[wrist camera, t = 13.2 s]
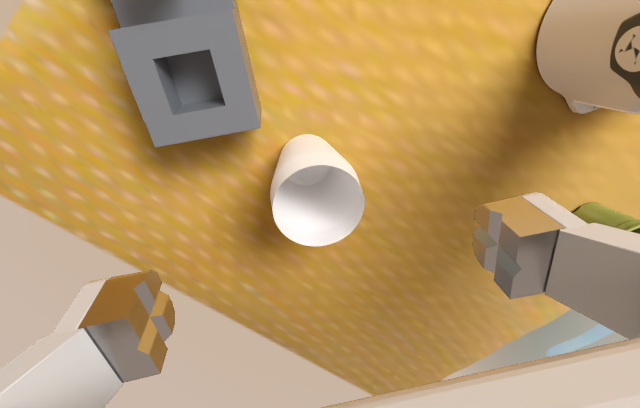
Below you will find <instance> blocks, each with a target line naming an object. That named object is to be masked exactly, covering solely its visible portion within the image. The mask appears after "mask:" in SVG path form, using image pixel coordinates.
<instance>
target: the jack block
mask: <svg viewBox="0 0 640 408" xmlns="http://www.w3.org/2000/svg"><path fill="white" fill-rule="evenodd" d="M110 1H111V3H112V6H113V9H114V11H115V14H116V16H117V19H118V22H119V24H120V27H121V28H118V29H112V30H108V32H109V35H110V37H111V40H112V42H113V45H114V47H115V50H116V52H117V55H118V57H119V60H120V63H121V66H122V68H123V71H124V73H125V76H126V78H127V81H128V83H129V86H130V88H131V91H132V93H133V96H134V98H135V100H136V103H137V105H138V108H139V110H140V113H141V115H142V118H143V120H144V122H145V124H146V126H147V129H148V131H149V134H150V136H151V139H152V141H153V144H154V146H155V147H161V146H166V145H172V144H177V143H182V142H188V141H193V140H199V139H204V138H209V137H215V136H220V135H226V134H231V133H236V132H242V131H247V130H253V129H258V128H260V126H261V106H260V102H259V97H258V93H257V89H256V84H255V80H254V76H253V71H252V67H251V63H250V58H249V54H248V50H247V45H246V41H245V37H244V32H243V28H242V24H241V20H240V15H239V11H238V7H237V2H236V0H110Z"/></svg>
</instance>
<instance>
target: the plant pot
mask: <svg viewBox="0 0 640 408" xmlns="http://www.w3.org/2000/svg"><path fill="white" fill-rule="evenodd" d="M572 214H574V215H575V216H577V217H578V218H580V219H582V220H583V221H585V222H586V223H588V224H591V223H598V224H602V225H606V226H610V227H614V228H618V229H622V230H626V231H630V232H634V233H638V234H640V220H638V219H635V218H632V217H630V216H627V215H625V214H622V213H620V212H617V211H615V210H612V209H610V208H608V207H605V206H603V205H600V204H598V203H588V204H584V205H582V206H580V208H579V209H578V210H577V211H575V212H573V213H572Z"/></svg>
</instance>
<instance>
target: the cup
mask: <svg viewBox="0 0 640 408" xmlns="http://www.w3.org/2000/svg"><path fill="white" fill-rule="evenodd" d="M270 200H271V205H272V211H273V217H274V220H275V223H276V225H277V227H278V228H279V230H280V231H281V232H282V233H283V234H284V235H285V236H286V237H287V238H289V239H290V240H292V241H294V242H296V243H299V244H302V245H306V246H324V245H329V244H332V243H335V242H337V241H339V240H341V239H343V238H345V237H346V236H347V235H349V234H350V233H351V232H352V231H353V230H354V229H355V228H356V226H357V225H358V223H359V222H360V220H361V218H362V215H363V212H364V206H365V199H364V194H363V191H362V188H361V186H360V183H359V180H358V177H357V175H356V173H355V171H354V169H353V168H352V167H351V165H350V164H349V163H348V162H347V161H346V160H345V159H344V158H343V157H342V156H341V155H340V154H339V153H338V152H337V151H335V150H334V149H333V148H332V147H331V146H330V145H329V144H328V143H327V142H326V141H325V140H324V139H322V138H320V137H318V136H315V135H310V134H305V135H300V136H297V137H295V138H293V139H291V140H290V141H289V142H287V143H286V145H285V146H284V147H283V149H282V151H281V154H280V157H279V160H278V164H277V167H276V170H275V173H274V177H273V180H272V183H271V189H270Z"/></svg>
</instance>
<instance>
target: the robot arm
mask: <svg viewBox="0 0 640 408" xmlns="http://www.w3.org/2000/svg"><path fill="white" fill-rule="evenodd" d="M536 57H537V65H538V69H539V72H540V74H541V77H542V78H543V80H544V81H545V83H546V84H547V85H548V86H549V87H550V88H551V89H553V90H554V91H556V92H557V93H559V94H561V95H562V96H563V97H564V98H565V99H566V102H567V104H568V106H569V108H570V109H571V110H572V111H573V112H574V113H579V114H585V113H588V112H591V111H593V110H596V109H598V108H605V109H610V110H615V111H620V112H624V113H629V114H639V113H640V0H553V1H552V3H551V5H550V7H549V8H548V10H547V12H546V15H545V17H544V19H543V22H542V25H541V28H540V31H539V35H538V40H537V50H536ZM474 220H475V221H476V222H477V223H478V224H479V226H478V228H477V229H476V230H475V231H474V233H473V242H472V245H473V249H474V253H475V256H476V258H477V260H478V261H479V263H480V264H481V265H482V267H483V268H484V269H487V270H489V271H491V272H494V273H495V275H494V281H495V282H496V283H497V285H498V286H499V287H500V288H501V289H502V290H503V292H504V293H505V294H506V295H507V296H508V297H509V299H513V298H519V297H524V296H530V295H535V294H540V293H545V295H547V296H549V297H551V298H552V299H554V300H556V301H558V302H560V303H562V304H564V305H566V306H568V307H570V308H571V309H573V310H575V311H577V312H579V313H581V314H583V315H585V316H587V317H589V318H590V319H592V320H594V321H596V322H598V323H600V324H602V325H604V326H605V327H607V328H609V329H611V330H613V331H615V332H617V333H619V334H621V335H622V336H624V337H627V338H629V340H624V341H620V342H616V343H611V344H607V345H602V346H597V347H593V348H588V349H584V350H579V351H575V352H570V353H566V354H561V355H556V356H552V357H547V358H543V359H538V360H534V361H529V362H525V363H521V364H516V365H512V366H507V367H502V368H499V369H493V370H489V371H484V372H480V373H475V374H471V375H466V376H462V377H457V378H454V379H448V380H444V381H439V382H435V383H430V384H426V385H421V386H417V387H412V388H408V389H403V390H399V391H394V392H390V393H385V394H381V395H376V396H372V397H367V398H363V399H358V400H354V401H349V402H345V403H340V404H336V405H331V406H327V407H322V408H640V234H638V233H634V232H630V231H626V230H622V229H618V228H614V227H610V226H606V225H602V224H598V223H591V224H588V223H586V222H585V221H583V220H582V219H580V218H578V217H577V216H575V215H574V214H572V213H571V212H569V211H568V210H566V209H565V208H563V207H562V206H560V205H559V204H557V203H556V202H554V201H553V200H551V199H550V198H548V197H547V196H545V195H544V194H542V193H539V192H533V193H528V194H524V195H520V196H516V197H513V198H508V199H504V200H499V201H494V202H490V203H485V204H480V205H477V207H476V210H475V215H474ZM161 285H162V281H161V279H160V277H159V276H158V274H157V272H155V271H152V270H149V271H144V272H138V273H133V274H128V275H122V276H116V277H111V278H105V279H100V280H96V281H91V282H89V283H87V284H85V285H84V286H83V288H82V289H81V291H80V292H79V294H78V295H77V297H76V298H75V300H74V301H73V303H72V304H71V306H70V307H69V309H68V310H67V312H66V313H65V315H64V316H63V318H62V319H61V321H60V322H59V324H58V325H57V327H56V328H55V330H54V331H53V333H52V334H51V335H47V336H43V337H42V338H41V339H40V340H38V341H37V342H35V343H34V344H33V345H31V346H30V347H29V348H27V349H26V350H24V351H23V352H22V353H20V354H19V355H18V356H16V357H15V358H14V359H12V360H11V361H10V362H8V363H7V364H6V365H4V366H3V367H1V368H0V408H104V407H105V406H106V405H107V404H108V403H109V401H110V400H111V399H112V398H113V396H114V395H115V394H116V393H117V392H118V390H119V389H120V388H121V387H122V385H123V383H124V382H128V381H132V380H136V379H140V378H144V377H148V376H152V375H157V374H160V373H161V370H162V366H163V363H164V359H165V356H166V353H167V347H166V345H165V343H164V341H165V340H166V339H167V338H168V337H169V336H170V335H171V334H172V331H173V328H174V324H175V311H174V307H173V304H172V301H171V299H170V297H169V296H168V295H167V294H165V293H163V292H161V291H160V287H161Z"/></svg>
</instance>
